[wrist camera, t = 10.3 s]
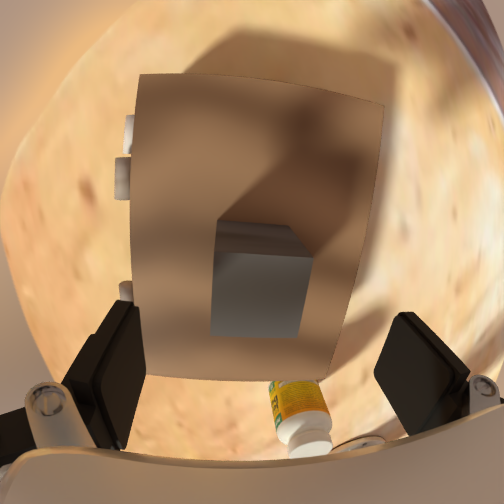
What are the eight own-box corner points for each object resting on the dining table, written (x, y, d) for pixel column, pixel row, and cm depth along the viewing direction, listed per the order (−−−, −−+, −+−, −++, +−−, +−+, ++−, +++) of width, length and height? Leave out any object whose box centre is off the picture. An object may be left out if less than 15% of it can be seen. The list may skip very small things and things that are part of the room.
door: (319, 366, 22) (343, 426, 16) (133, 359, 21) (113, 421, 14) (372, 108, 16) (436, 97, 10) (128, 81, 14) (80, 52, 8)
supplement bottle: (316, 390, 30) (340, 456, 21) (272, 402, 30) (285, 470, 21) (313, 359, 28) (340, 430, 19) (263, 372, 28) (277, 447, 19)
